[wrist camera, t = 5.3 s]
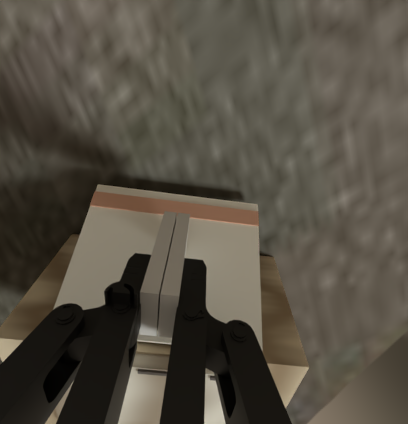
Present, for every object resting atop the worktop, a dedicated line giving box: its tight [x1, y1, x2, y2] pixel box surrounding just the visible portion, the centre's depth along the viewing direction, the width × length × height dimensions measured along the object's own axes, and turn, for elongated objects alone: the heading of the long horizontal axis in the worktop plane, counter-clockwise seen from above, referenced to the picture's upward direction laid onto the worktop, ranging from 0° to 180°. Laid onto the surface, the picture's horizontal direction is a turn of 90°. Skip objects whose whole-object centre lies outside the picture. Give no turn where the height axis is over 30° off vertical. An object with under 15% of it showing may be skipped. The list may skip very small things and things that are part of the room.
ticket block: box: [0, 234, 309, 424], centre depth 22 cm, size 18×10×11 cm, turn 82°
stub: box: [53, 184, 263, 352], centre depth 18 cm, size 12×10×1 cm
